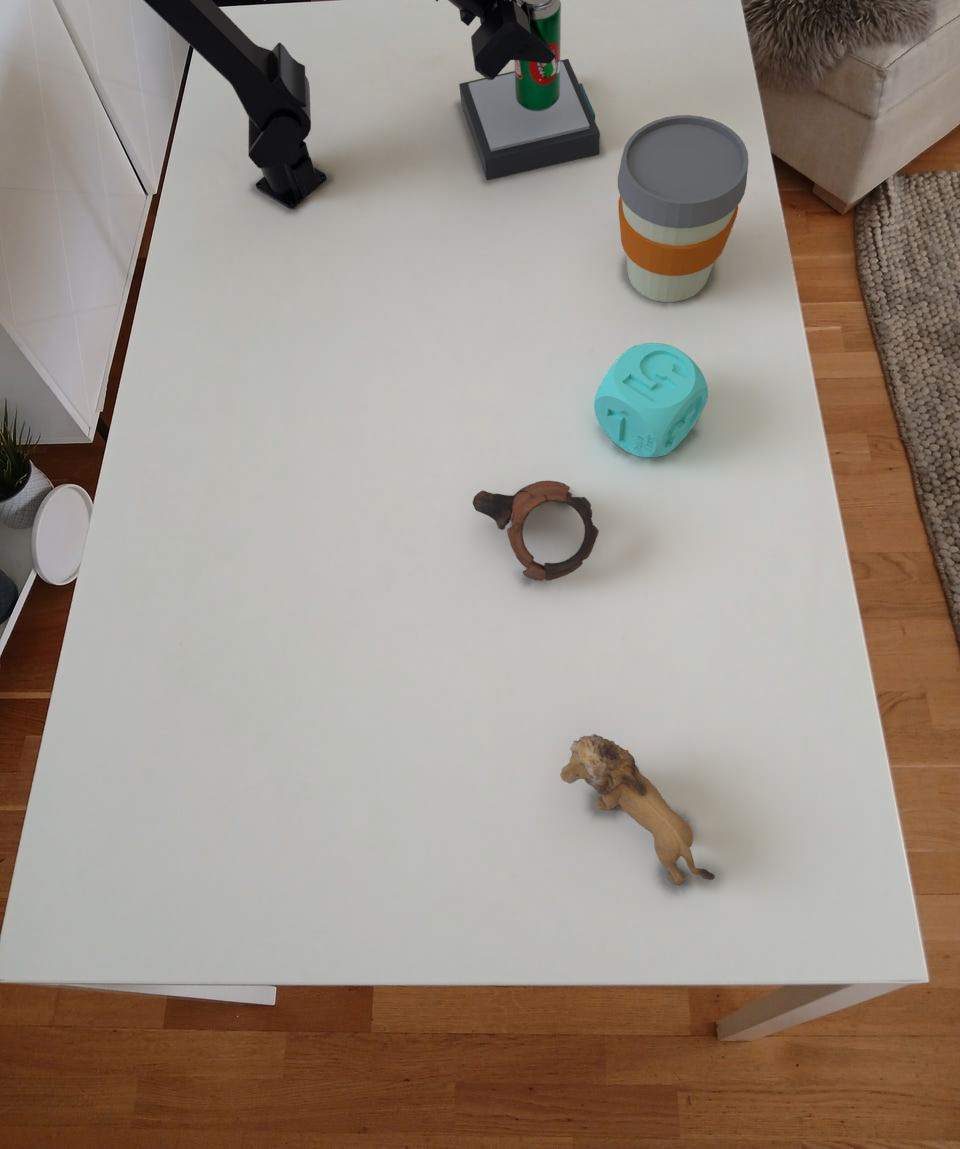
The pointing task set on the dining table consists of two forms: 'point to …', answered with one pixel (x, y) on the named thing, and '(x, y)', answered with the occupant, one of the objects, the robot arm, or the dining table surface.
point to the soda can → (540, 80)
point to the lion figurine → (633, 799)
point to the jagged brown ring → (518, 511)
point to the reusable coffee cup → (678, 202)
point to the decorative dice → (650, 399)
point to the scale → (528, 125)
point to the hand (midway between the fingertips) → (549, 43)
